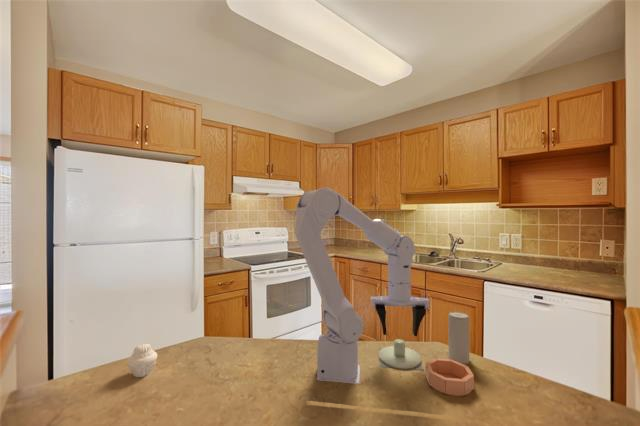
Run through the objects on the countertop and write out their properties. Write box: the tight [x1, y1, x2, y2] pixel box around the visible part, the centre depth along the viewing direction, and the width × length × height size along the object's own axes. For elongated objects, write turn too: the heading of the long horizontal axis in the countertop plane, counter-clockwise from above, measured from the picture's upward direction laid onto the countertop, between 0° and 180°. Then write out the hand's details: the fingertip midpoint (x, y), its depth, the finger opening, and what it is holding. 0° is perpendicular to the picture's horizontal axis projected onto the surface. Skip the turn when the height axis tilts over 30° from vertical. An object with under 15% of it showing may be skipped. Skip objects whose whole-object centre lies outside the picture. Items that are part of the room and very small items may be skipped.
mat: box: [378, 347, 424, 371], centre depth 74 cm, size 10×10×1 cm
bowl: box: [425, 357, 475, 397], centre depth 63 cm, size 9×9×4 cm
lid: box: [378, 338, 422, 370], centre depth 74 cm, size 10×10×4 cm
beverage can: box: [447, 311, 470, 365], centre depth 74 cm, size 5×5×12 cm
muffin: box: [126, 343, 158, 378], centre depth 68 cm, size 6×6×7 cm
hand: (399, 334), depth 74 cm, fingers open, 7 cm apart
